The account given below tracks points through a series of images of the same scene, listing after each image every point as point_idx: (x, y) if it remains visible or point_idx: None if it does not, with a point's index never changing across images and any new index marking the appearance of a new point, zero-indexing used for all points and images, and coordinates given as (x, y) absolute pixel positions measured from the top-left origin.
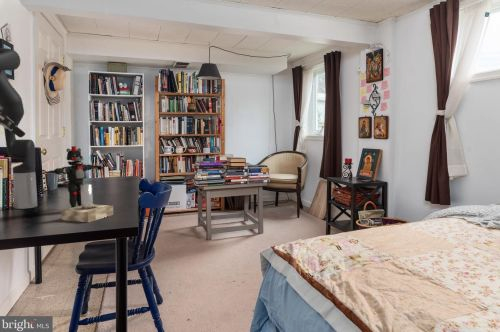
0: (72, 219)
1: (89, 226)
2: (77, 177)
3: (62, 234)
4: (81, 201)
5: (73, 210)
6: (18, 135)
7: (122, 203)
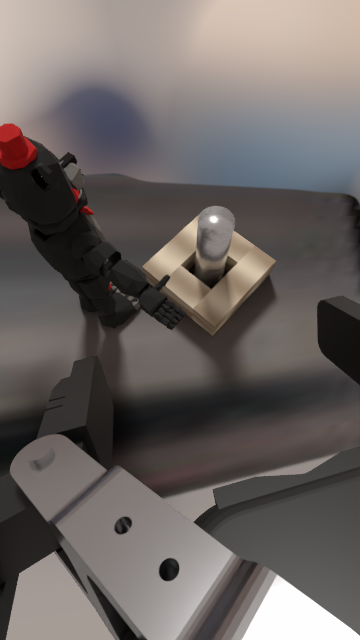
0: (237, 307)
1: (313, 270)
2: (105, 240)
3: None
4: (218, 265)
5: (231, 295)
6: (108, 414)
7: None
